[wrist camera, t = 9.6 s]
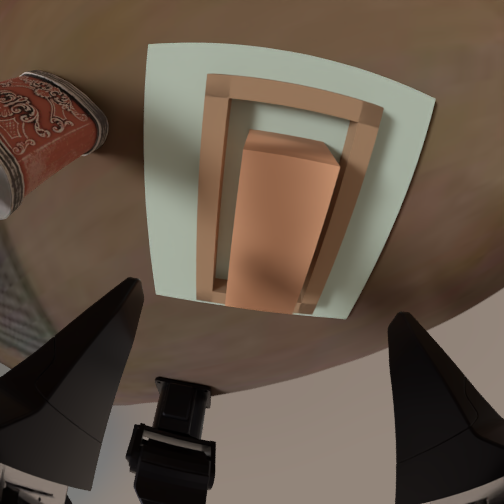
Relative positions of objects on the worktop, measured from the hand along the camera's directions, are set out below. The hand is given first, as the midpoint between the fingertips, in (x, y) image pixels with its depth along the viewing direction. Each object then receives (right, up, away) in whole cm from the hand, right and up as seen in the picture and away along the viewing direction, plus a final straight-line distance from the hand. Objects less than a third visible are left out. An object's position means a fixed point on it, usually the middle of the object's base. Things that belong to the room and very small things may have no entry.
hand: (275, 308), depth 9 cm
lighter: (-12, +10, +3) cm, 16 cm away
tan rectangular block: (0, +4, +6) cm, 7 cm away
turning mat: (0, +4, +6) cm, 7 cm away
